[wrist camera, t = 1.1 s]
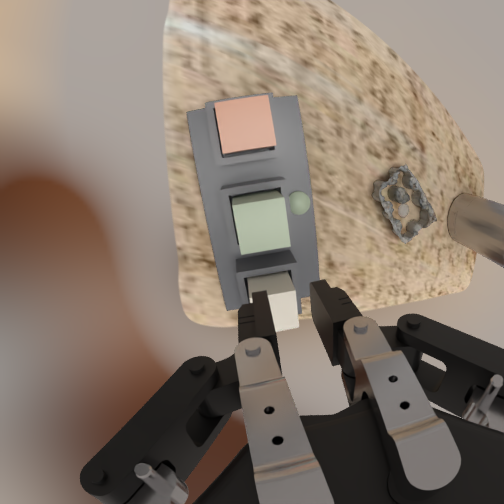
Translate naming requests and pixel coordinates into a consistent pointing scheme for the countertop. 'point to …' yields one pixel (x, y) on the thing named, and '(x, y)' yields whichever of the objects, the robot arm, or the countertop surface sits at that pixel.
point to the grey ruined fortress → (402, 197)
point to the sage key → (261, 221)
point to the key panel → (253, 181)
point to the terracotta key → (245, 124)
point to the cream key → (278, 298)
